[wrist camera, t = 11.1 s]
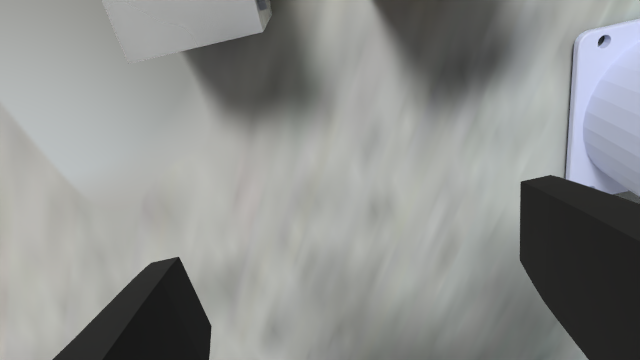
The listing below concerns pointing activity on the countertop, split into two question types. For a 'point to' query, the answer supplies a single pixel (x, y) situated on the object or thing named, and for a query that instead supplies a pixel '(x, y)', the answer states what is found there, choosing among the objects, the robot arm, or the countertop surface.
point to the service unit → (182, 24)
